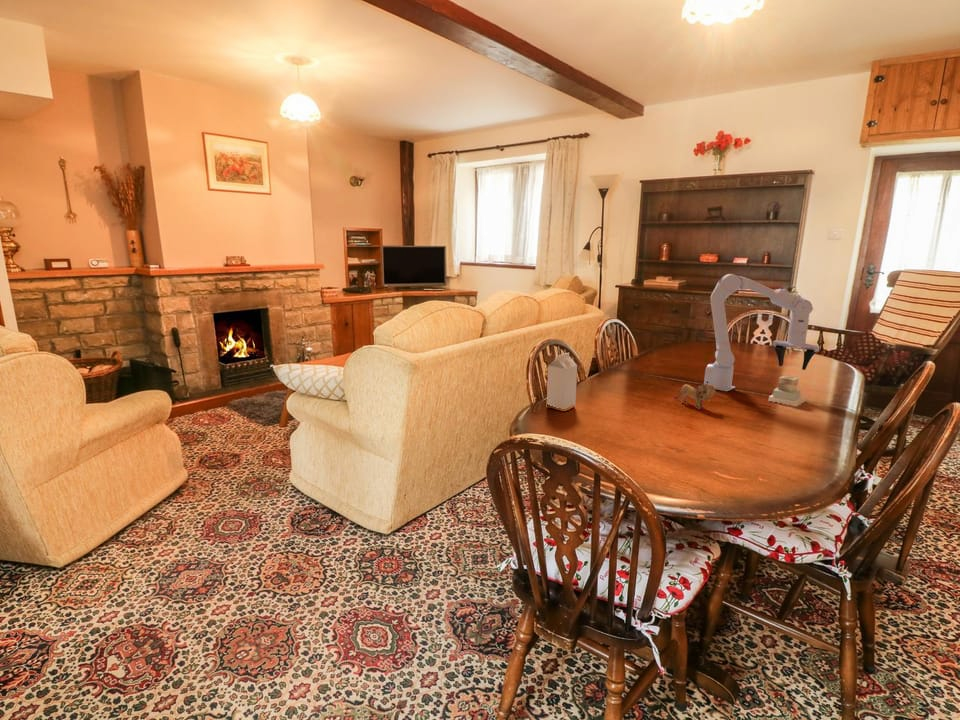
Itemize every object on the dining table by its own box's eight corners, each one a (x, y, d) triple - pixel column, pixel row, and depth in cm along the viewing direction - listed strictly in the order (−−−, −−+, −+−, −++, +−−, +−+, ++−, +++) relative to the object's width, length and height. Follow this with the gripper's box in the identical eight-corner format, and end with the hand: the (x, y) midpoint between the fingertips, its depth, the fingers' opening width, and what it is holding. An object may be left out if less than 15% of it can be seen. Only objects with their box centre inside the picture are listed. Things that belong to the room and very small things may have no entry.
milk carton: (546, 408, 169) (548, 354, 165) (558, 403, 174) (560, 350, 170) (563, 413, 164) (566, 357, 160) (575, 408, 169) (578, 353, 165)
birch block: (777, 389, 177) (779, 377, 176) (782, 387, 180) (784, 375, 179) (791, 392, 174) (793, 380, 173) (796, 390, 177) (798, 378, 176)
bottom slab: (768, 403, 178) (768, 396, 178) (776, 398, 184) (777, 391, 184) (796, 409, 172) (797, 402, 171) (804, 403, 178) (805, 397, 177)
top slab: (772, 396, 177) (773, 390, 177) (777, 392, 182) (778, 386, 181) (794, 401, 172) (796, 394, 172) (799, 396, 177) (800, 390, 177)
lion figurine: (716, 409, 169) (719, 384, 167) (707, 412, 166) (709, 386, 164) (678, 398, 180) (680, 374, 178) (669, 401, 178) (671, 376, 176)
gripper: (772, 330, 183) (767, 365, 186) (817, 335, 173) (811, 373, 176) (778, 328, 188) (773, 362, 191) (823, 333, 177) (817, 369, 180)
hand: (792, 367), depth 184 cm, fingers open, 7 cm apart
